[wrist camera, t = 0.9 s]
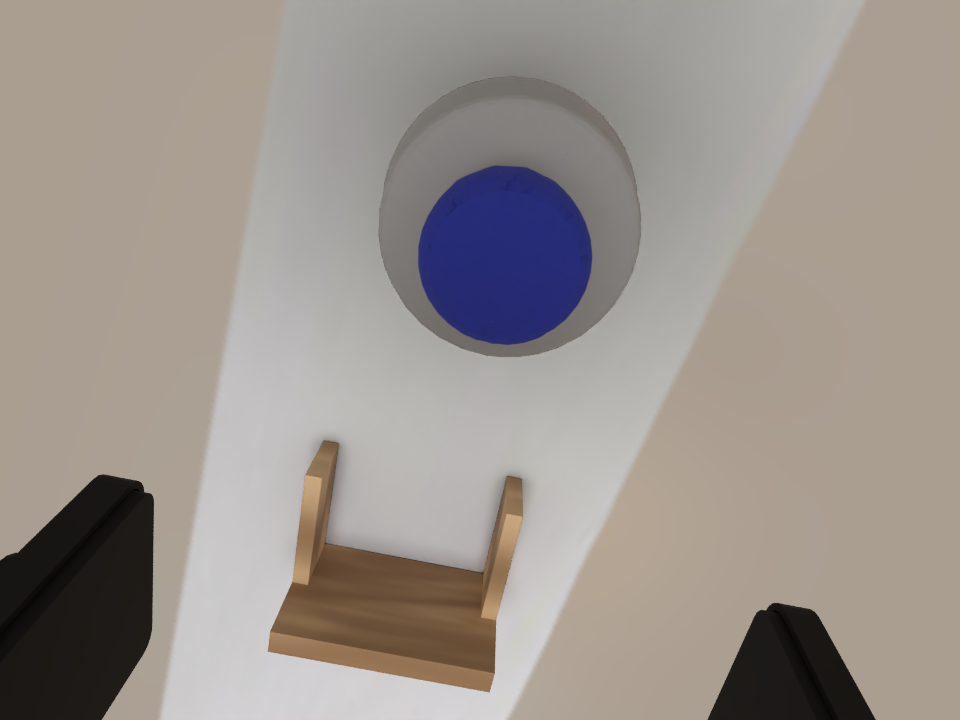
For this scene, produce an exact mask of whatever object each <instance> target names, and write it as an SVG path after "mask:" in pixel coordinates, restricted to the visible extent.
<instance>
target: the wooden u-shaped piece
mask: <svg viewBox="0 0 960 720" xmlns="http://www.w3.org/2000/svg"><path fill="white" fill-rule="evenodd" d="M338 446H339V444H338V443H333V442H328V441H323V443H322V445H321V447H320V449H319V451H318V452H317V454H316V456H315V458H314V460H313V462H312V464H311V465H310V467H309V469H308V471H307V473H306V475H305V482H304V491H303V499H302V507H301V515H300V523H299V532H298V540H297V548H296V556H295V565H294V573H293V581H292V584H291V586H290V589H289V591H288V593H287V595H286V598H285V600H284V602H283V604H282V607H281V609H280V611H279V613H278V615H277V618H276V620H275V622H274V624H273V627H272V629H271V631H270V638H269V647H268V652H273V653H279V654H284V655H289V656H295V657H300V658H306V659H311V660H317V661H322V662H328V663H333V664H338V665H344V666H349V667H355V668H360V669H366V670H371V671H376V672H382V673H387V674H393V675H398V676H404V677H409V678H415V679H420V680H425V681H431V682H436V683H442V684H447V685H453V686H458V687H463V688H469V689H474V690H480V691H485V692H490V689H491V685H492V681H493V677H494V674H495V641H496V619H497V615H498V611H499V607H500V603H501V599H502V596H503V592H504V588H505V584H506V580H507V576H508V572H509V569H510V565H511V561H512V557H513V553H514V549H515V546H516V542H517V538H518V534H519V530H520V526H521V522H522V519H523V501H522V479H518V478H513V477H508V476H507V478H506V483H505V487H504V491H503V495H502V499H501V503H500V507H499V511H498V515H497V519H496V524H495V528H494V532H493V536H492V540H491V544H490V548H489V552H488V556H487V560H486V565H485V569H484V573H478V572H472V571H467V570H462V569H457V568H451V567H446V566H441V565H436V564H430V563H425V562H420V561H414V560H409V559H404V558H399V557H393V556H388V555H383V554H377V553H372V552H367V551H362V550H356V549H351V548H346V547H341V546H335V545H330V544H325V540H326V532H327V525H328V518H329V511H330V504H331V497H332V489H333V482H334V475H335V468H336V461H337V453H338Z"/></svg>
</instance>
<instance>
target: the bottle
mask: <svg viewBox="0 0 960 720" xmlns="http://www.w3.org/2000/svg"><path fill="white" fill-rule="evenodd" d="M640 237H641V214H640V205H639V200H638V196H637V188H636V180H635V176H634V172H633V168H632V165H631V162H630V159H629V157H628V154H627V152H626V149H625V147H624V146H623V144H622V142H621V140H620V139H619V137H618V135H617V133H616V132H615V131H614V129H613V128H612V127H611V125H610V124H609V123H608V121H607V120H606V119H605V118H604V117H603V116H602V115H601V114H600V113H599V112H598V111H597V110H596V109H595V108H594V107H592V106H591V105H590V104H589V103H588V102H586V101H585V100H583V99H582V98H580V97H579V96H577V95H576V94H574V93H572V92H570V91H568V90H566V89H564V88H562V87H560V86H558V85H555V84H552V83H548V82H545V81H542V80H538V79H531V78H522V77H501V78H489V79H485V80H481V81H477V82H473V83H470V84H468V85H465V86H462V87H460V88H457V89H456V90H454V91H452V92H450V93H448V94H446V95H445V96H443V97H441V98H440V99H439V100H437V101H436V102H434V103H433V104H432V105H430V106H429V107H428V108H427V109H426V110H425V111H424V112H423V113H422V114H420V115H419V117H418V118H417V119H416V120H415V121H414V122H413V123H412V124H411V126H410V127H409V129H408V130H407V132H406V133H405V134H404V136H403V137H402V139H401V140H400V142H399V144H398V146H397V148H396V150H395V152H394V154H393V157H392V159H391V161H390V164H389V167H388V170H387V174H386V178H385V183H384V191H383V197H382V201H381V205H380V213H379V241H380V248H381V254H382V258H383V262H384V265H385V269H386V271H387V273H388V276H389V278H390V280H391V283H392V285H393V287H394V288H395V290H396V292H397V293H398V295H399V297H400V298H401V300H402V301H403V303H404V305H405V306H406V308H407V309H408V310H409V311H410V312H411V313H412V314H413V315H414V316H415V317H416V318H417V319H418V320H419V322H420V323H421V324H422V325H424V326H425V327H426V328H428V329H429V330H430V331H432V332H433V333H434V334H436V335H437V336H438V337H440V338H442V339H444V340H446V341H448V342H450V343H452V344H454V345H456V346H458V347H460V348H462V349H465V350H469V351H472V352H476V353H479V354H483V355H487V356H497V357H521V356H528V355H534V354H540V353H543V352H546V351H549V350H552V349H556V348H558V347H560V346H562V345H564V344H566V343H568V342H570V341H572V340H574V339H576V338H578V337H580V336H582V335H583V334H584V333H585V332H586V331H588V330H589V329H590V328H591V327H593V326H594V325H595V324H596V323H597V322H599V321H600V320H601V319H602V318H603V317H604V315H605V314H606V313H607V312H608V311H609V310H610V309H611V308H612V307H613V306H614V305H615V303H616V301H617V300H618V298H619V296H620V295H621V293H622V291H623V290H624V288H625V286H626V285H627V283H628V281H629V278H630V276H631V274H632V272H633V269H634V265H635V261H636V258H637V254H638V249H639V243H640Z"/></svg>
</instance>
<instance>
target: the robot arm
mask: <svg viewBox="0 0 960 720" xmlns="http://www.w3.org/2000/svg"><path fill="white" fill-rule="evenodd" d="M153 524H154V499H153V496H152V494H150V493H145V492H144V487H143V485H142V483H141V482H139V481H135V480H130V479H125V478H119V477H114V476H109V475H98V476H97V477H96V478H94V479H93V480H92V481H91V482H90V483H89V484H88V485H87V486H86V487H85V488H84V489H83V490H82V491H81V492H80V493H79V494H78V495H77V496H76V497H75V498H74V499H73V500H72V501H70V502H69V504H67V505H66V506H65V507H64V508H63V509H62V510H61V511H60V512H59V513H58V514H57V515H56V516H55V517H54V518H53V519H52V520H51V521H50V522H49V523H48V524H47V525H46V526H45V527H44V528H43V529H42V530H41V531H40V532H39V533H38V534H37V535H36V536H34V538H32V539H31V540H30V541H29V542H28V543H27V544H26V545H25V546H24V547H23V548H22V549H21V550H20V551H19V552H18V553H14V554H11V555H8V556H6V557H5V558H3V559H2V560H0V720H102V718H103V717H104V715H105V714H106V712H107V711H108V709H109V707H110V706H111V704H112V702H113V701H114V700H115V698H116V696H117V695H118V693H119V692H120V690H121V688H122V687H123V685H124V683H125V682H126V681H127V679H128V677H129V676H130V674H131V673H132V671H133V669H134V668H135V666H136V665H137V663H138V662H139V660H140V659H141V657H142V655H143V654H144V652H145V650H146V648H147V645H148V643H149V640H150V636H151V632H152V602H153V601H152V597H153V528H154V526H153ZM708 720H876V719H875V718H874V716H873V714H872V712H871V710H870V709H869V707H868V705H867V703H866V702H865V700H864V698H863V696H862V694H861V692H860V691H859V689H858V687H857V685H856V683H855V682H854V680H853V678H852V676H851V675H850V672H849V671H848V669H847V667H846V665H845V664H844V662H843V660H842V658H841V656H840V654H839V653H838V651H837V649H836V647H835V646H834V644H833V642H832V640H831V638H830V636H829V635H828V633H827V631H826V629H825V627H824V626H823V624H822V622H821V620H820V618H819V617H818V615H817V614H816V613H815V612H814V611H812V610H811V609H806V608H801V607H795V606H790V605H784V604H780V603H773V604H771V605H770V606H769V607H768V608H767V610H766V611H765V610H760V611H758V612H757V613H756V615H755V617H754V619H753V621H752V623H751V626H750V628H749V630H748V632H747V634H746V636H745V639H744V641H743V643H742V645H741V647H740V650H739V652H738V654H737V656H736V658H735V661H734V663H733V665H732V667H731V669H730V672H729V674H728V676H727V678H726V680H725V683H724V685H723V687H722V689H721V691H720V693H719V696H718V698H717V700H716V703H715V704H714V707H713V709H712V711H711V713H710V716H709V718H708Z"/></svg>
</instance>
